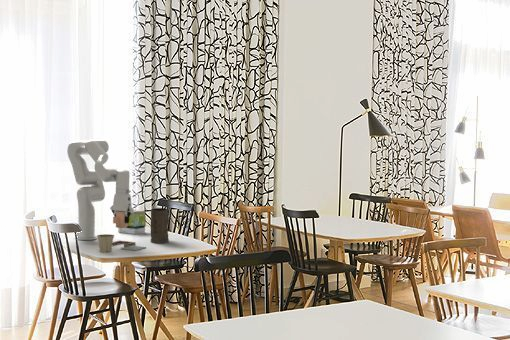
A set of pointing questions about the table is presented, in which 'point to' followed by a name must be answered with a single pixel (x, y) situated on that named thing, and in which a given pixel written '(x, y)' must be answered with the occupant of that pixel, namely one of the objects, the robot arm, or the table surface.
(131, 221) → the tea box
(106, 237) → the flower pot
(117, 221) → the jug
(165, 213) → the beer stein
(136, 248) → the coaster
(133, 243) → the cradle
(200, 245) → the table surface
